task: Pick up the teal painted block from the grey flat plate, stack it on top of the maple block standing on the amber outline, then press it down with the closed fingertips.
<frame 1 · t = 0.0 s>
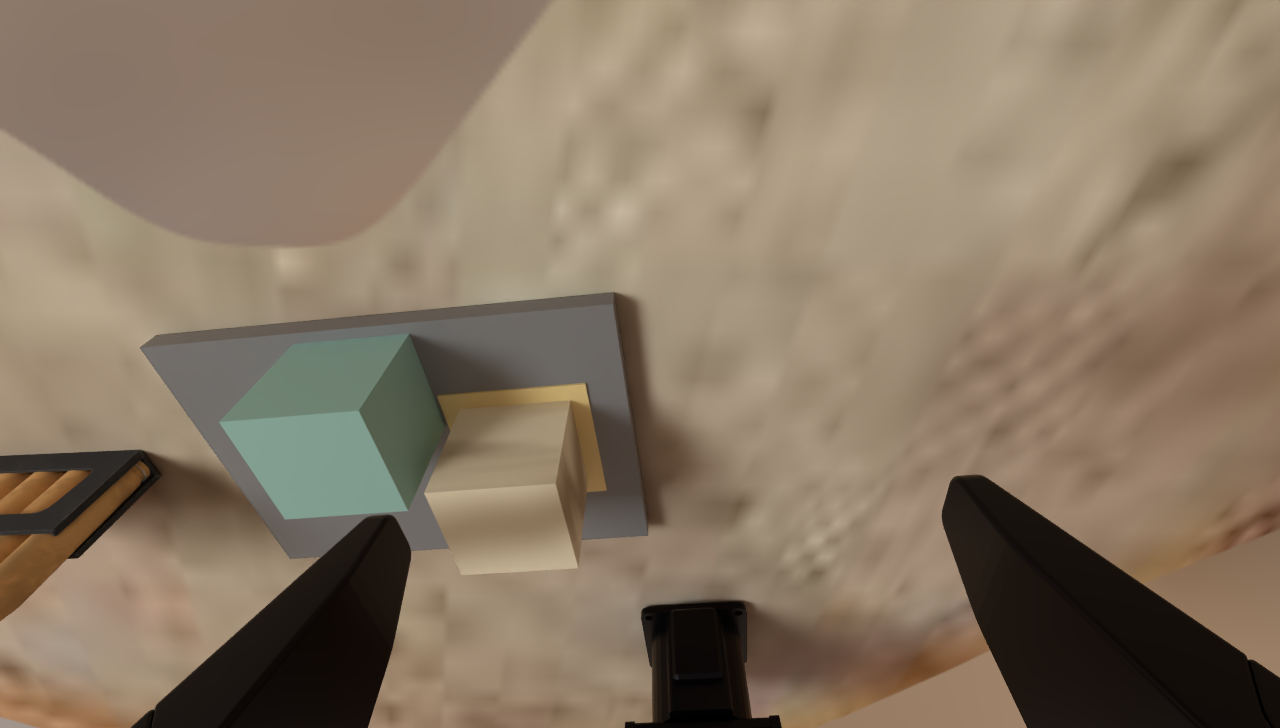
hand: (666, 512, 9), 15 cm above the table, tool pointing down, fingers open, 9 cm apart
teal block: (372, 387, 25), point 1 cm above the table, touching grey flat plate
ammunition clip: (57, 464, 30), on the table
maple block: (526, 446, 27), point 1 cm above the table, touching grey flat plate
grey flat plate: (430, 438, 28), on the table
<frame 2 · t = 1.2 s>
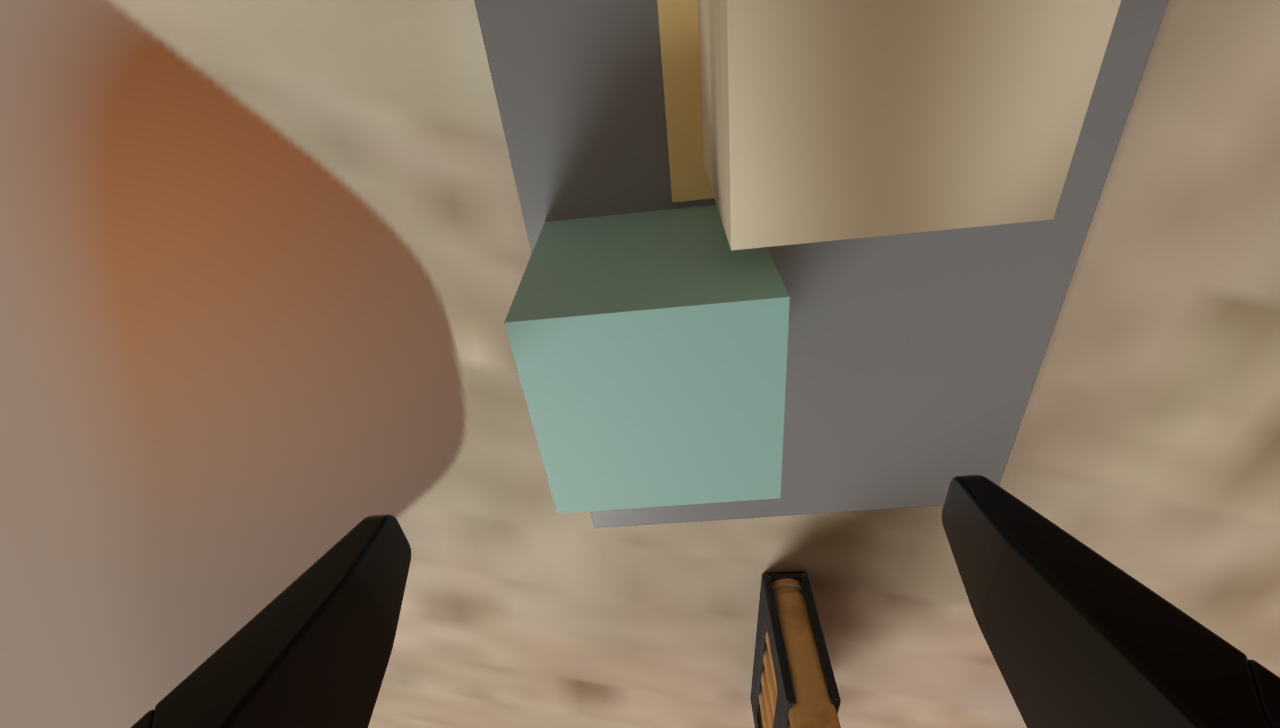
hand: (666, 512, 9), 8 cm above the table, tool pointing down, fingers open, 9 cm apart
teal block: (653, 301, 15), point 1 cm above the table, touching grey flat plate
ammunition clip: (774, 637, 27), on the table
maple block: (820, 29, 12), point 1 cm above the table, touching grey flat plate
grey flat plate: (796, 238, 16), on the table
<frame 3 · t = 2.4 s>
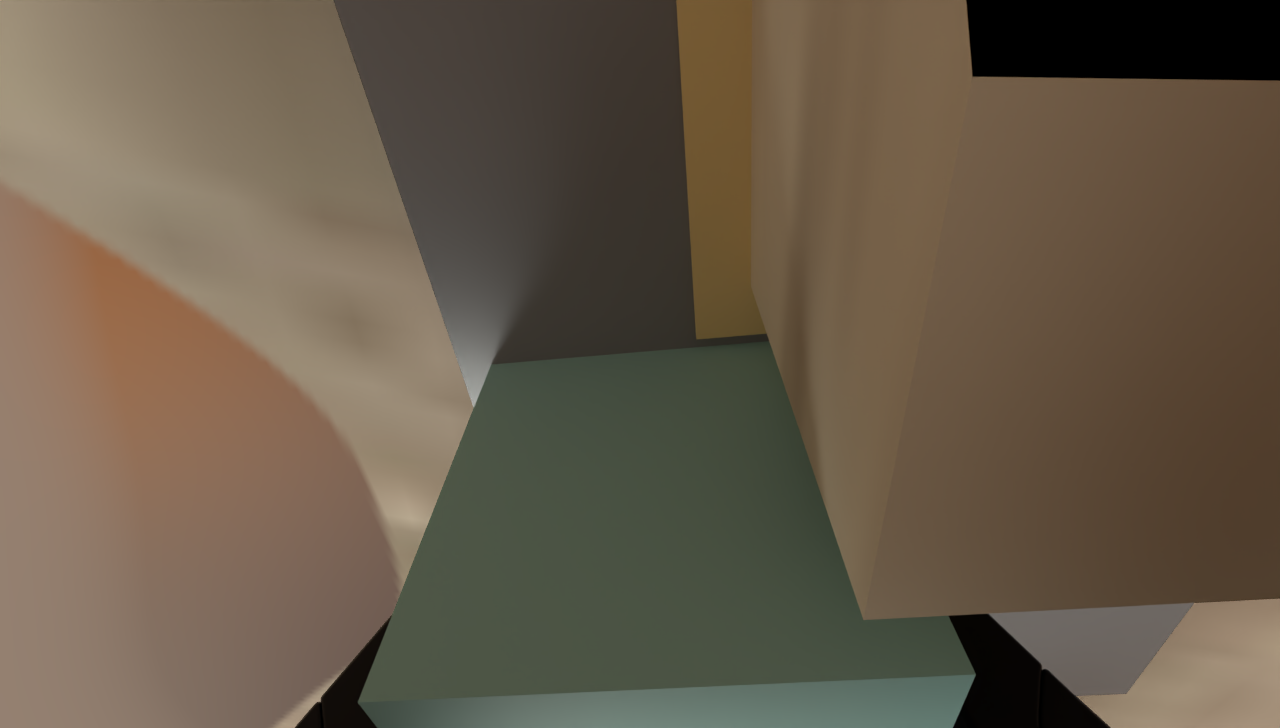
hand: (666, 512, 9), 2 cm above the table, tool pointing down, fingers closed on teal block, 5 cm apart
teal block: (664, 468, 10), point 1 cm above the table, touching grey flat plate, gripper
maple block: (975, 66, 6), point 1 cm above the table, touching grey flat plate
grey flat plate: (882, 371, 10), on the table
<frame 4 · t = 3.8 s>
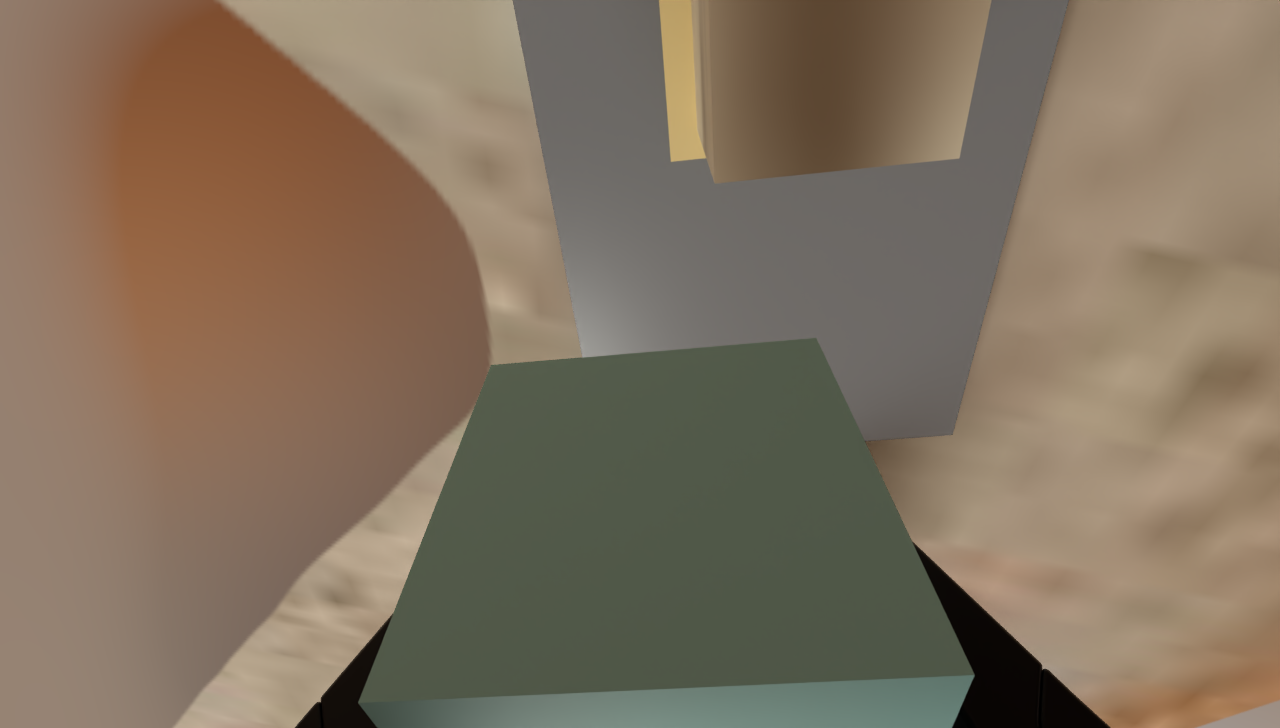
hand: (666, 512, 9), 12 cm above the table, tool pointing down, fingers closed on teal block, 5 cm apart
teal block: (663, 469, 10), point 11 cm above the table, touching gripper
maple block: (790, 16, 15), point 1 cm above the table, touching grey flat plate
grey flat plate: (776, 195, 18), on the table
when the fingers open (9 cm above the table, at t = 5.2 s): teal block drops 1 cm, resting on maple block.
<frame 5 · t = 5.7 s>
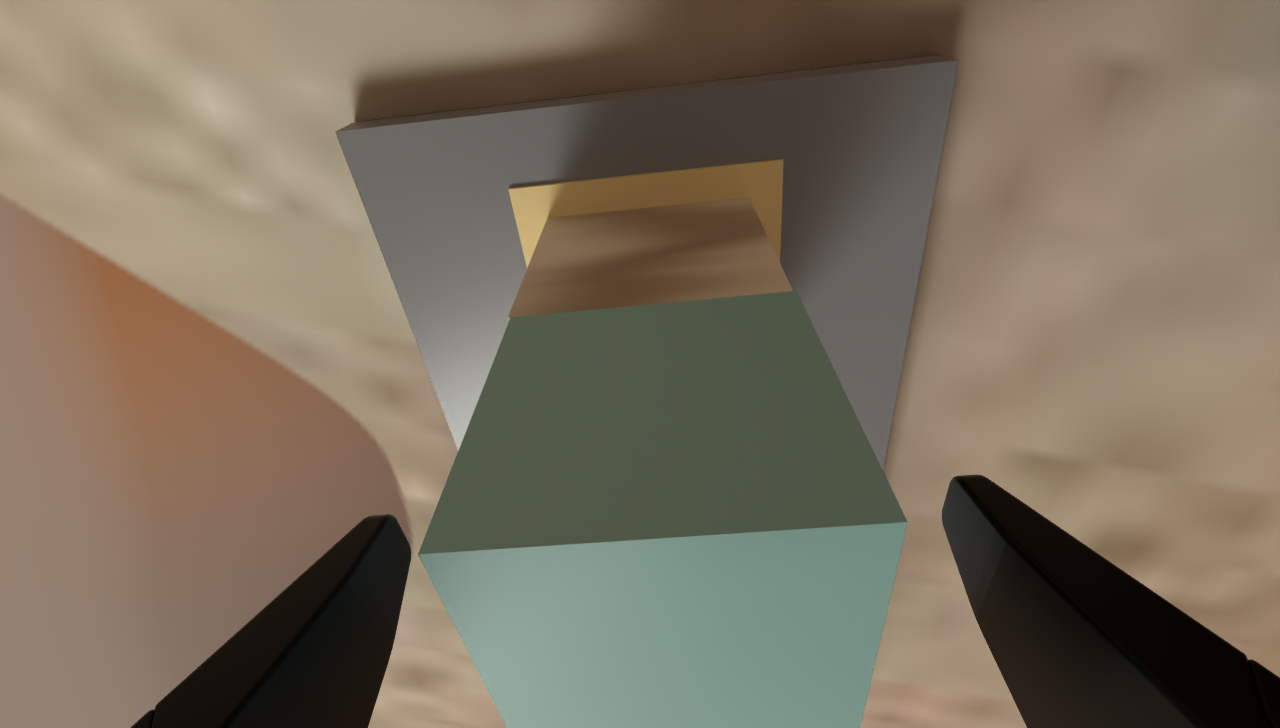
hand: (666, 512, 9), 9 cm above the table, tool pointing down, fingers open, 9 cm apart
teal block: (663, 415, 11), point 6 cm above the table, touching maple block
maple block: (656, 297, 15), point 1 cm above the table, touching grey flat plate, teal block
grey flat plate: (669, 414, 19), on the table
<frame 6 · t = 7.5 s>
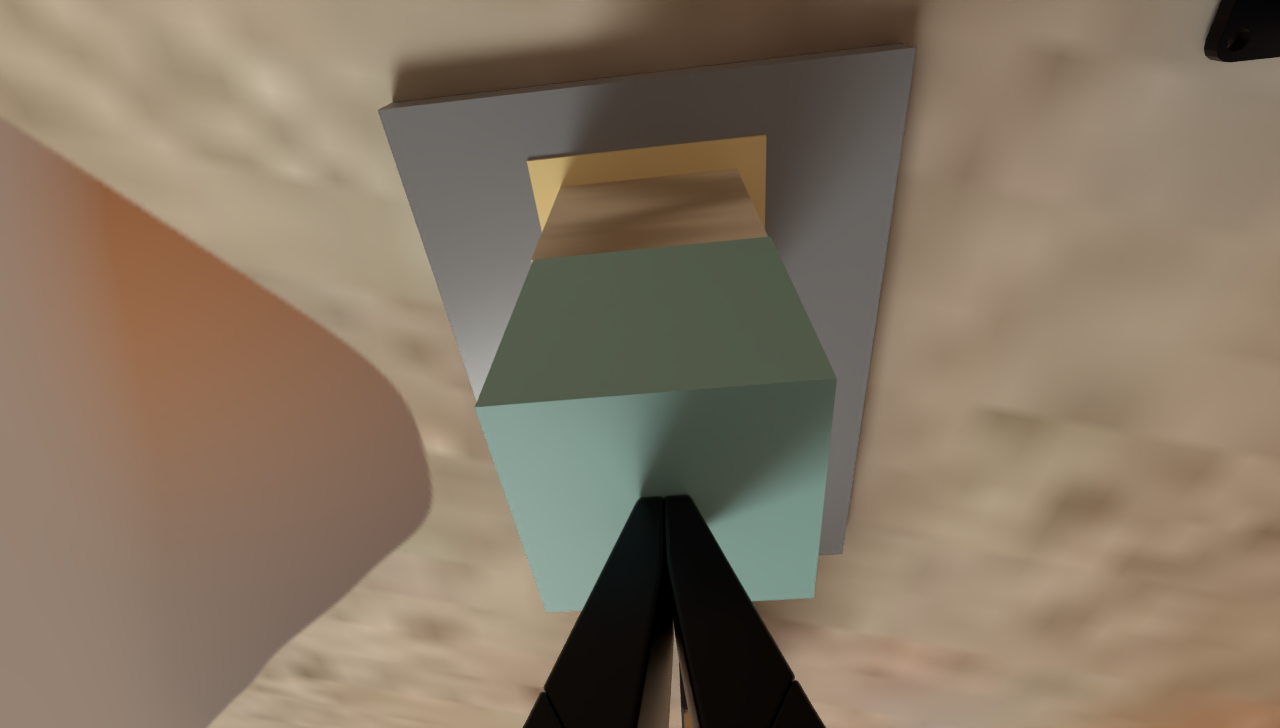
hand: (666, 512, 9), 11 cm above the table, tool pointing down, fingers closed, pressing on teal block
teal block: (660, 347, 13), point 6 cm above the table, touching gripper, maple block
ammunition clip: (695, 653, 33), on the table
maple block: (655, 259, 18), point 1 cm above the table, touching grey flat plate, teal block
grey flat plate: (667, 371, 21), on the table
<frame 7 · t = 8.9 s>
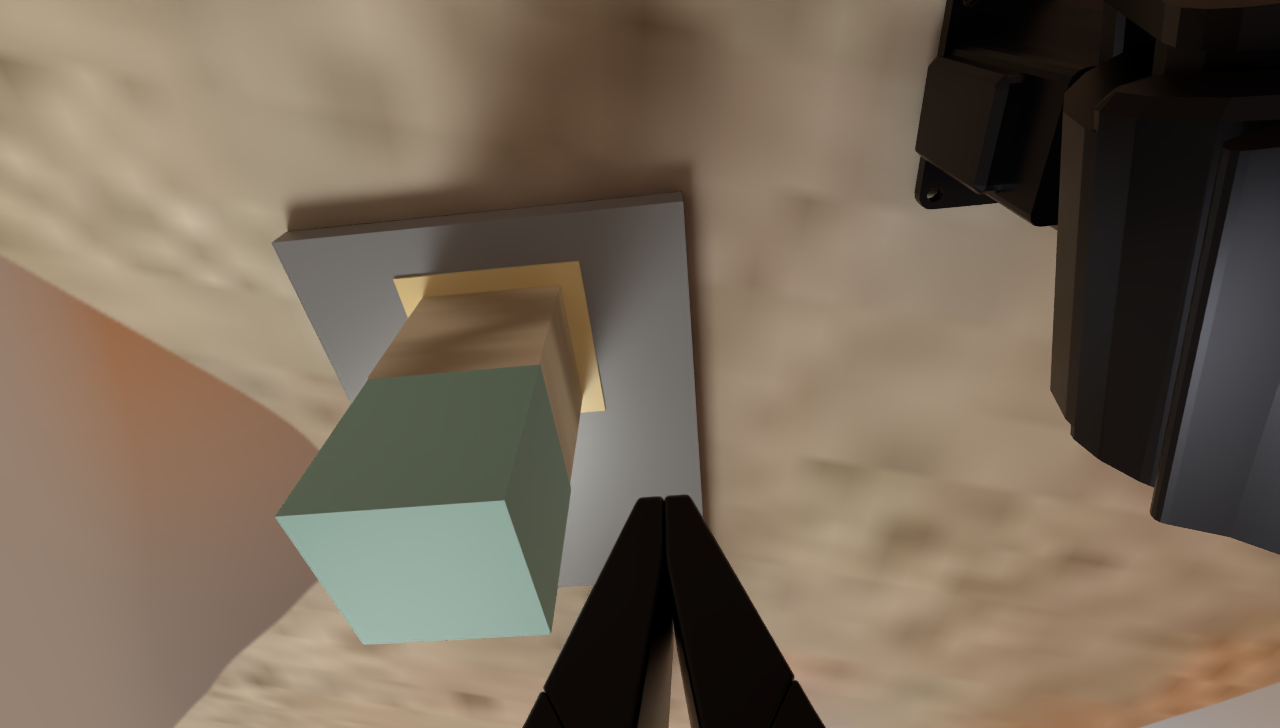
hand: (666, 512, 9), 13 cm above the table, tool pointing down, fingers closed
teal block: (476, 438, 18), point 6 cm above the table, touching maple block
maple block: (507, 350, 22), point 1 cm above the table, touching grey flat plate, teal block
grey flat plate: (538, 430, 25), on the table
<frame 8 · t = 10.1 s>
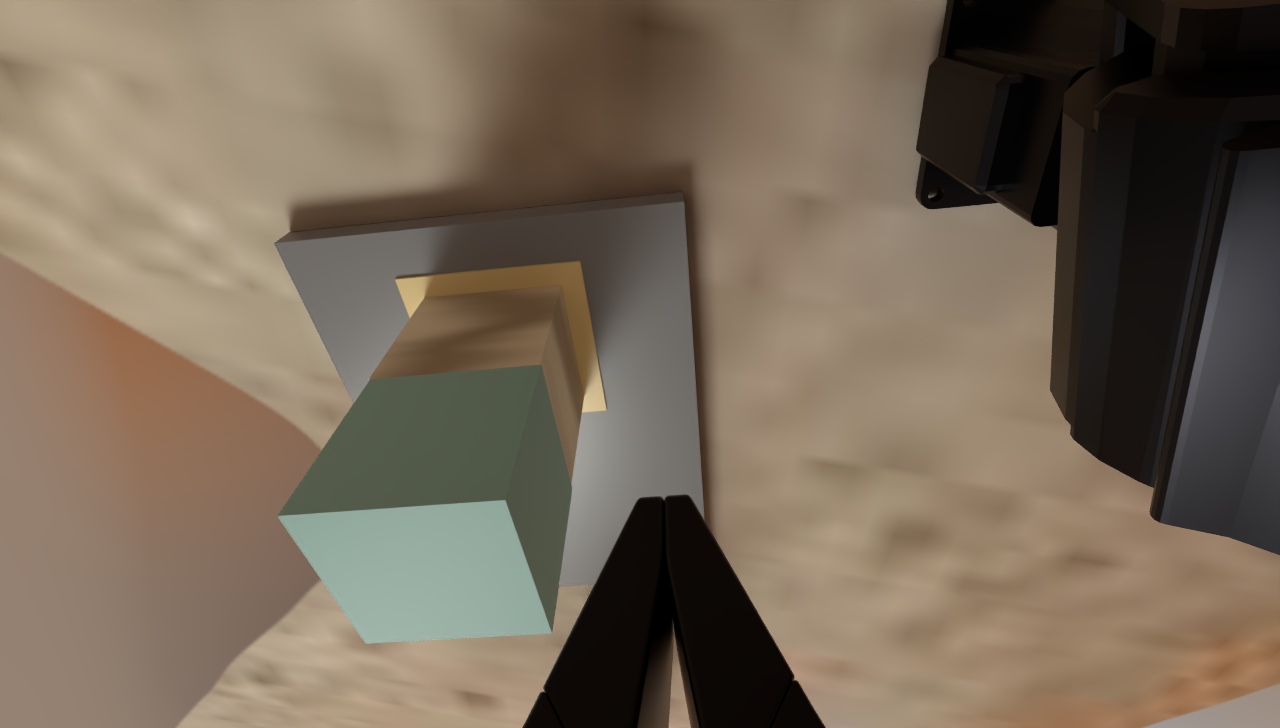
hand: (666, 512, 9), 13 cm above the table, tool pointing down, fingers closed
teal block: (478, 437, 18), point 6 cm above the table, touching maple block
maple block: (508, 349, 22), point 1 cm above the table, touching grey flat plate, teal block
grey flat plate: (539, 430, 25), on the table
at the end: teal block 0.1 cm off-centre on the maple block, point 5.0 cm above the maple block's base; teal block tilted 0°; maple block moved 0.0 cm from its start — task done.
